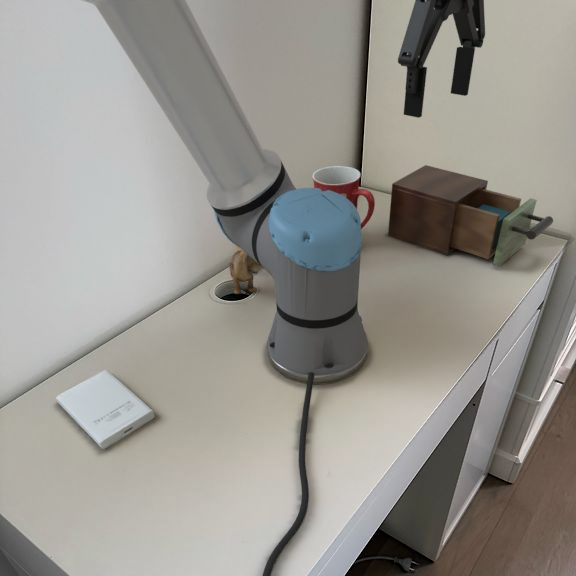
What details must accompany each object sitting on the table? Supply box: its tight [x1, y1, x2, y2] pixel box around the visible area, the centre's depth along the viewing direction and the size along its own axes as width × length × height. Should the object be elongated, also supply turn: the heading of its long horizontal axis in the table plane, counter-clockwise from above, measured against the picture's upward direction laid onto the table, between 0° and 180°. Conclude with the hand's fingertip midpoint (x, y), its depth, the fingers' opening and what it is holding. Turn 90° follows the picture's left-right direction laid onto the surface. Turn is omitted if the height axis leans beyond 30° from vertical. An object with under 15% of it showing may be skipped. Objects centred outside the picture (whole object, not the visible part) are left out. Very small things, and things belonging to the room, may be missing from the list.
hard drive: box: [55, 369, 156, 450], centre depth 75 cm, size 2×8×12 cm
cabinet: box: [387, 164, 489, 256], centre depth 106 cm, size 14×12×11 cm
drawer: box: [451, 188, 554, 267], centre depth 99 cm, size 17×10×9 cm, turn 47°
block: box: [478, 204, 511, 249], centre depth 101 cm, size 6×6×6 cm
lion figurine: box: [228, 246, 262, 295], centre depth 96 cm, size 15×5×9 cm, turn 6°
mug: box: [311, 165, 376, 230], centre depth 104 cm, size 13×9×14 cm
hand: (436, 104), depth 85 cm, fingers open, 13 cm apart
